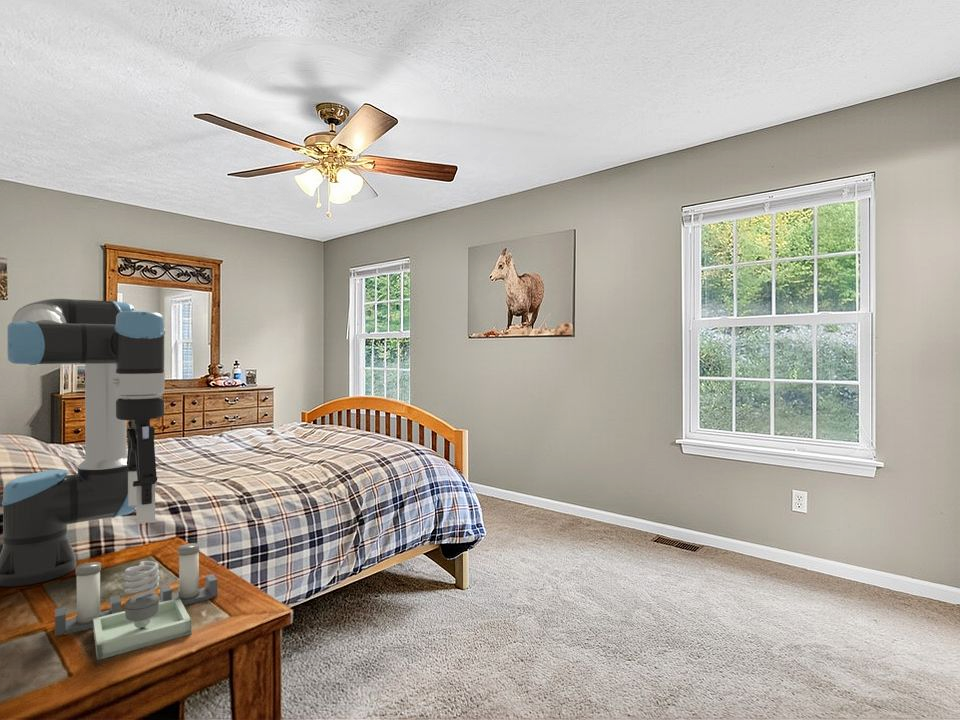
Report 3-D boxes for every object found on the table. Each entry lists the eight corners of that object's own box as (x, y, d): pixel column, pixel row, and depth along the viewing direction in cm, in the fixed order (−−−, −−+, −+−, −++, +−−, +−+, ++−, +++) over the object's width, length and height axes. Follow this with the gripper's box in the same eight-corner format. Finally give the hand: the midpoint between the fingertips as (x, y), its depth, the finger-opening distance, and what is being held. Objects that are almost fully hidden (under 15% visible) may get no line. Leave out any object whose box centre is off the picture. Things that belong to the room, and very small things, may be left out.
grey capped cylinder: (176, 594, 114) (176, 545, 114) (197, 589, 117) (197, 542, 117) (180, 601, 111) (179, 550, 111) (201, 596, 113) (201, 546, 114)
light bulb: (143, 637, 97) (142, 569, 97) (116, 634, 98) (115, 566, 98) (167, 622, 102) (166, 557, 102) (141, 619, 103) (140, 555, 103)
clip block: (55, 626, 102) (55, 608, 102) (212, 589, 119) (212, 573, 119) (55, 637, 98) (55, 617, 98) (218, 596, 115) (217, 580, 115)
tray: (93, 632, 100) (93, 618, 100) (179, 610, 109) (179, 597, 109) (97, 660, 91) (97, 645, 91) (191, 633, 99) (191, 620, 99)
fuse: (75, 618, 104) (75, 565, 104) (100, 612, 106) (100, 560, 106) (76, 626, 101) (75, 571, 101) (101, 620, 103) (101, 566, 103)
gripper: (110, 393, 107) (110, 501, 108) (122, 402, 88) (123, 534, 88) (154, 392, 112) (154, 495, 112) (175, 400, 92) (176, 526, 92)
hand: (141, 513), depth 100 cm, fingers open, 13 cm apart
